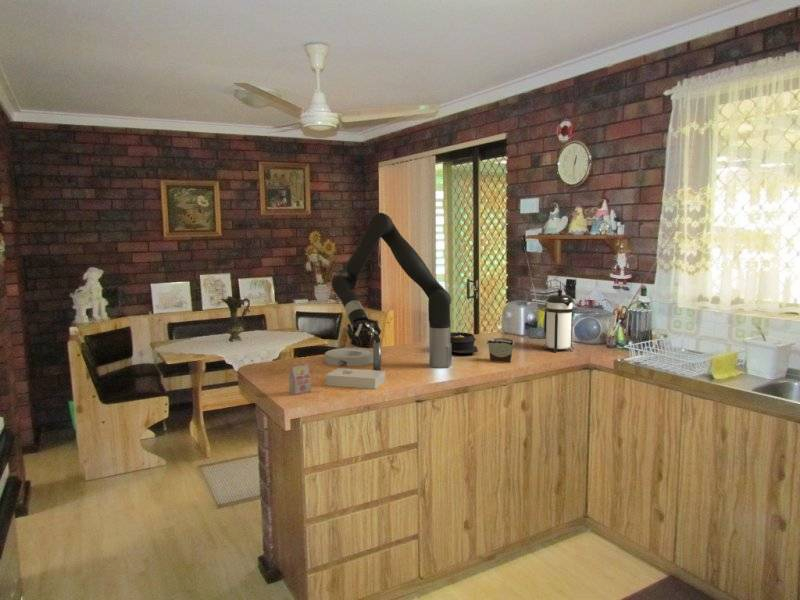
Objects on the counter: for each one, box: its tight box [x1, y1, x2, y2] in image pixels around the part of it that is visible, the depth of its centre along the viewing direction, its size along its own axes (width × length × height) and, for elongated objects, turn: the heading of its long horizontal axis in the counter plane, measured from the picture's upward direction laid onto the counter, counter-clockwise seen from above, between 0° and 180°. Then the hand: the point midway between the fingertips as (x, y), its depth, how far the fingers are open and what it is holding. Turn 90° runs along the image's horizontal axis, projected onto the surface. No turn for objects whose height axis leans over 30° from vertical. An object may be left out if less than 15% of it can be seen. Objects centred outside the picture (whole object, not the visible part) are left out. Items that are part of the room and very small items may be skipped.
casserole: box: [450, 331, 479, 355], centre depth 279 cm, size 25×19×8 cm
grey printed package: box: [288, 364, 312, 396], centre depth 209 cm, size 4×7×10 cm, turn 128°
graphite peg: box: [372, 342, 382, 371], centre depth 230 cm, size 3×3×14 cm
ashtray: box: [324, 347, 373, 367], centre depth 262 cm, size 23×23×4 cm
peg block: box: [325, 367, 386, 390], centre depth 222 cm, size 20×12×4 cm, turn 73°
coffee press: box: [542, 289, 575, 353], centre depth 281 cm, size 17×16×30 cm
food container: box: [486, 337, 515, 364], centre depth 258 cm, size 12×6×10 cm, turn 65°
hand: (369, 344), depth 234 cm, fingers open, 8 cm apart
